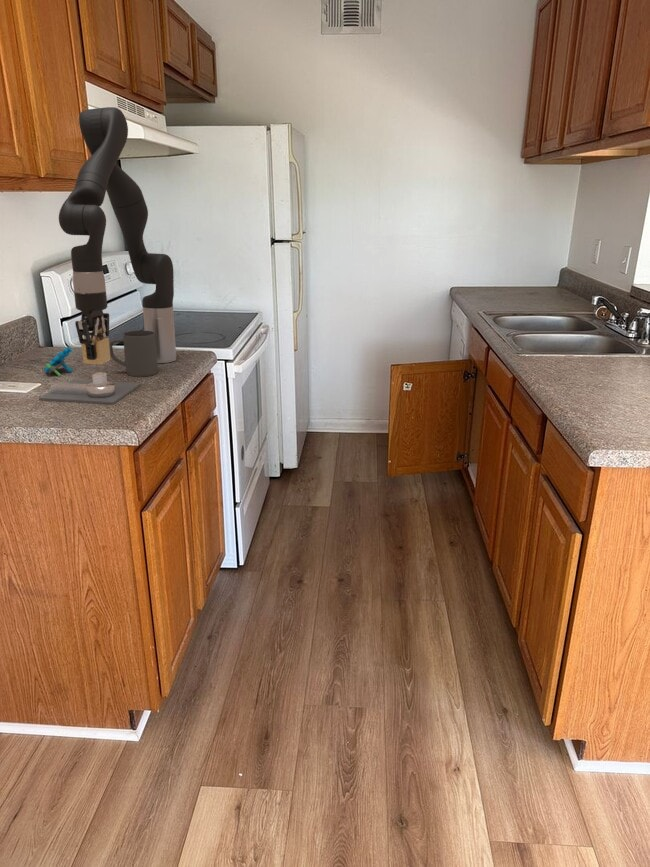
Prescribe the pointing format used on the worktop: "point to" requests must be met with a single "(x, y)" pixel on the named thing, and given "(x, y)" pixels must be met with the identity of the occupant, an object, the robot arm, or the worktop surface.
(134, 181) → the robot arm
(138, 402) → the worktop surface
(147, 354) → the mug
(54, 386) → the ratchet
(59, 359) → the blue toy piece
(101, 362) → the wooden toy cube
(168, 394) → the worktop surface
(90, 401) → the mat
